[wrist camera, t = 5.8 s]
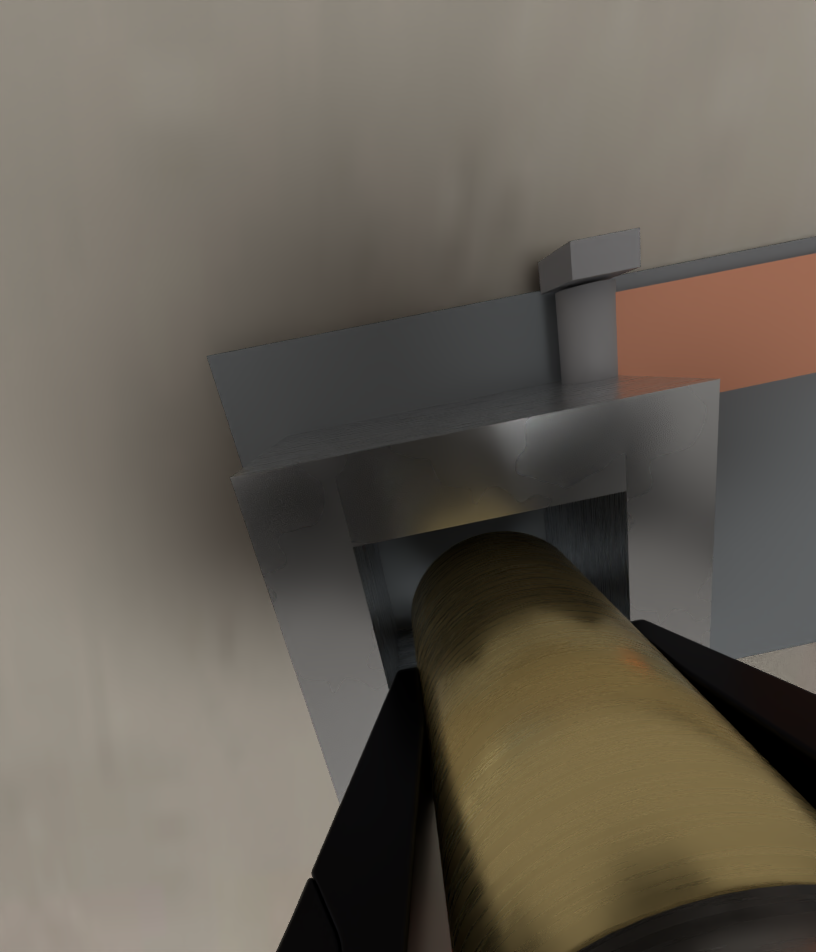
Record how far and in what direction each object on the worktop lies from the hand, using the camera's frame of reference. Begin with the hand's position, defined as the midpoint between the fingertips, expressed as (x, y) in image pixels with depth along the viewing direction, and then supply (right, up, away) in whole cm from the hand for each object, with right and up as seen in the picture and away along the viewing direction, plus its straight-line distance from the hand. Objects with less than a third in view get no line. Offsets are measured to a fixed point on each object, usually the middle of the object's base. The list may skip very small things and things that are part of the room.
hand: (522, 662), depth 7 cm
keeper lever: (+6, +8, +4) cm, 11 cm away
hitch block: (0, +2, +5) cm, 6 cm away
